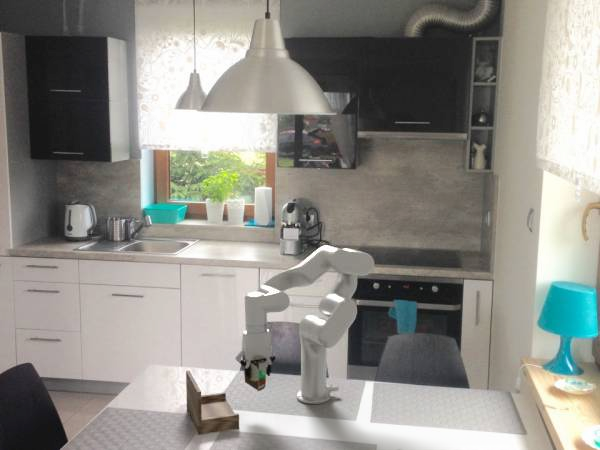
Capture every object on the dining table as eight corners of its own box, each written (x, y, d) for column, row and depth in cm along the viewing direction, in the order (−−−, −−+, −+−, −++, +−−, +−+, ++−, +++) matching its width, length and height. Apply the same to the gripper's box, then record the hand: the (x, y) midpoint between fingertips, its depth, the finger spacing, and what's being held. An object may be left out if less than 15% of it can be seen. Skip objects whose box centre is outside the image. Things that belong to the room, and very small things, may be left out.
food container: (275, 388, 249) (274, 361, 248) (260, 392, 246) (259, 365, 244) (257, 376, 260) (256, 350, 258) (243, 380, 256) (241, 354, 254)
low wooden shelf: (225, 405, 260) (224, 366, 258) (239, 428, 242) (238, 386, 239) (186, 410, 256) (186, 370, 253) (198, 434, 237) (197, 392, 235)
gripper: (276, 321, 255) (278, 368, 258) (229, 327, 249) (231, 375, 253) (283, 327, 248) (284, 376, 251) (235, 334, 242) (237, 383, 246)
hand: (258, 375), depth 252 cm, fingers closed on food container, 6 cm apart
